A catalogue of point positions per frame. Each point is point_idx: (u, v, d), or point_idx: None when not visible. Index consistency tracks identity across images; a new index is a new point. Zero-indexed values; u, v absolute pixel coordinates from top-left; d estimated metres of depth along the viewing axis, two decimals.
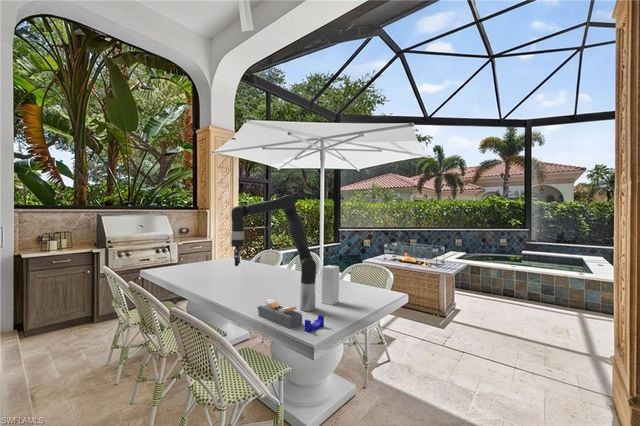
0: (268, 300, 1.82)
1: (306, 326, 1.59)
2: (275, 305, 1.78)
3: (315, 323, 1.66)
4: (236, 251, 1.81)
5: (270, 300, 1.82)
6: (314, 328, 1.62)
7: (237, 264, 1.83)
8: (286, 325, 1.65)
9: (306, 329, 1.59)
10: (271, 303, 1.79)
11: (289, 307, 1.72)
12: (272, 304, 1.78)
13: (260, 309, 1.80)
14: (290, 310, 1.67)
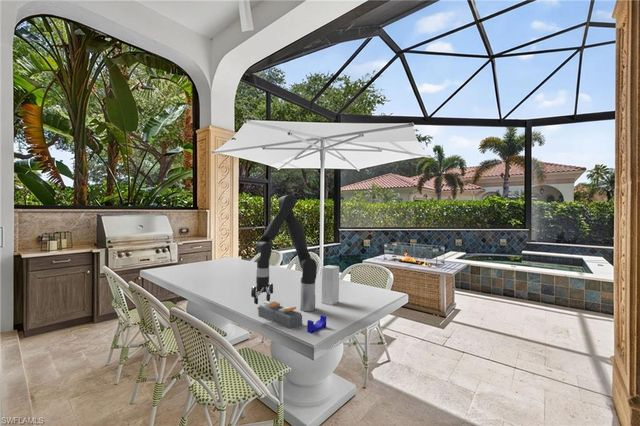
0: (267, 301, 1.82)
1: (309, 327, 1.58)
2: (275, 304, 1.78)
3: (317, 324, 1.65)
4: None
5: (270, 301, 1.82)
6: (317, 329, 1.61)
7: None
8: (286, 325, 1.65)
9: (309, 330, 1.58)
10: (271, 303, 1.79)
11: (289, 307, 1.72)
12: (272, 303, 1.78)
13: (260, 309, 1.80)
14: (290, 310, 1.67)
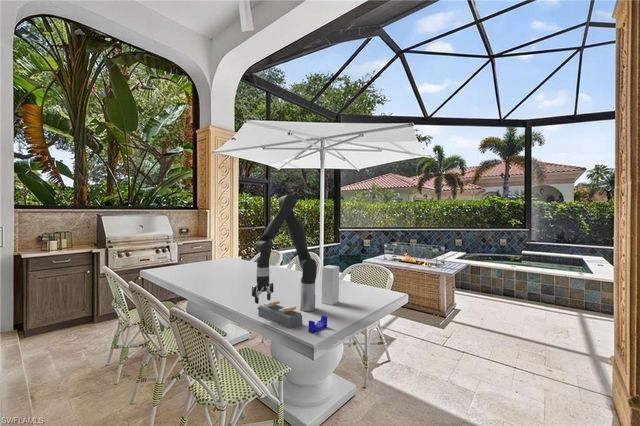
0: None
1: (310, 327, 1.58)
2: (274, 302, 1.78)
3: (318, 324, 1.65)
4: None
5: (269, 302, 1.83)
6: (318, 329, 1.60)
7: None
8: (286, 325, 1.65)
9: (310, 330, 1.58)
10: (270, 302, 1.79)
11: (289, 307, 1.72)
12: (271, 302, 1.79)
13: (260, 309, 1.80)
14: (290, 310, 1.67)
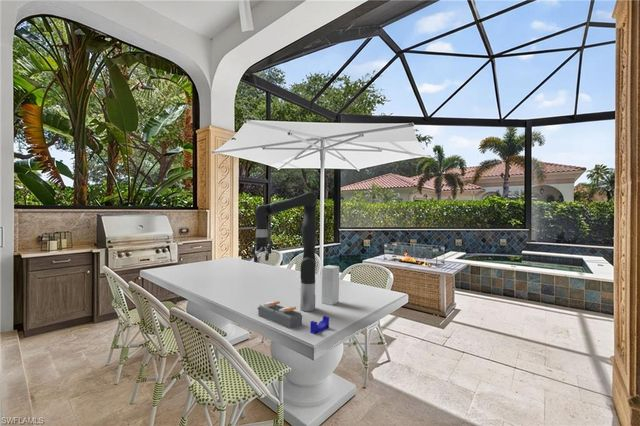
0: None
1: (312, 328, 1.57)
2: (274, 302, 1.78)
3: (320, 324, 1.64)
4: None
5: (269, 302, 1.83)
6: (320, 329, 1.60)
7: None
8: (286, 325, 1.65)
9: (312, 331, 1.57)
10: (270, 302, 1.79)
11: (289, 307, 1.72)
12: (271, 302, 1.79)
13: (260, 309, 1.80)
14: (290, 310, 1.67)
